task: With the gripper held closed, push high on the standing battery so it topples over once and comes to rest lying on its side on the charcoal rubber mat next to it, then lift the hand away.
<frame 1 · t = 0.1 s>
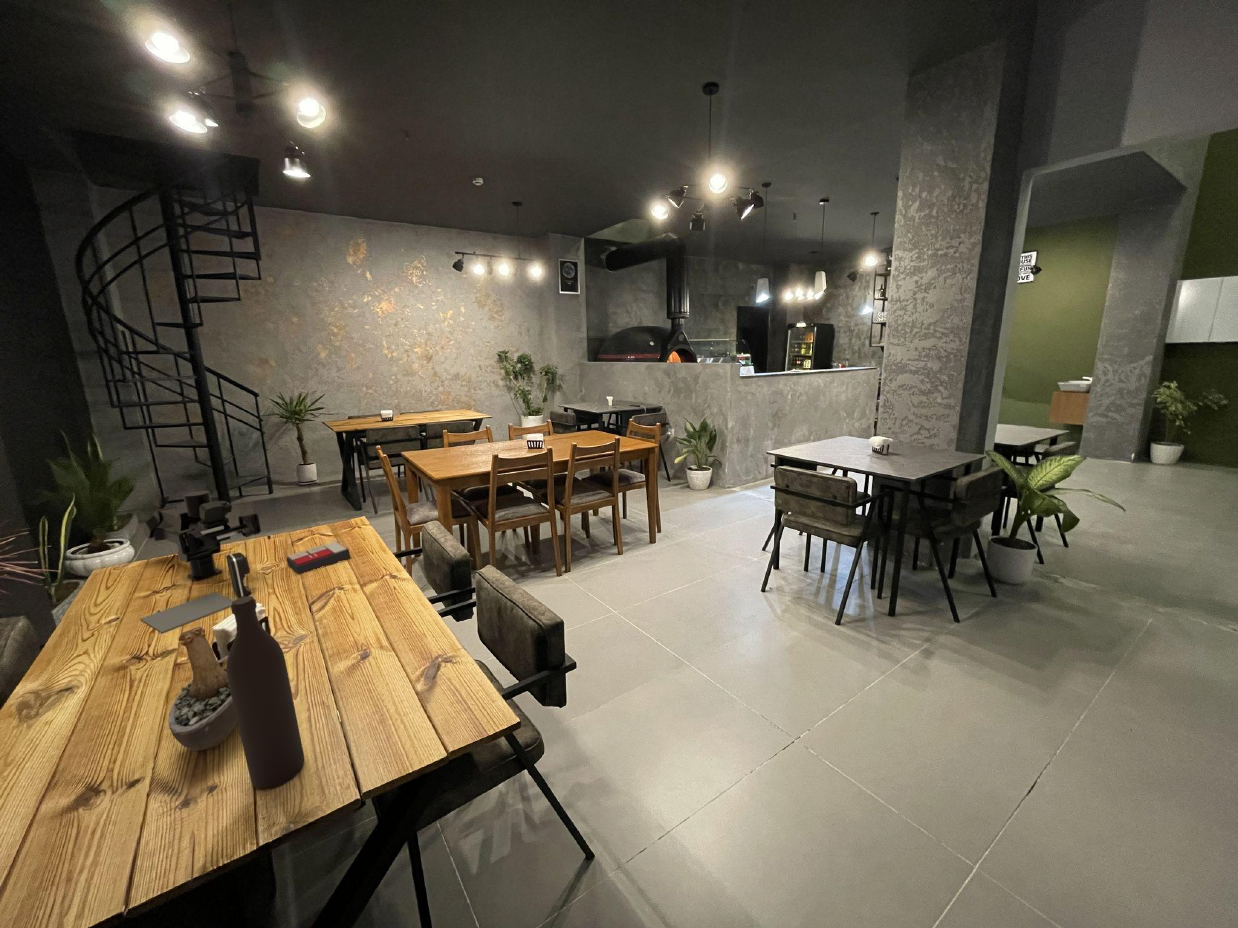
hand: (235, 537, 133), 17 cm above the table, tool horizontal, fingers open, 9 cm apart
wine bottle: (279, 773, 78), on the table
planter: (222, 730, 87), on the table
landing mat: (190, 611, 128), on the table
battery: (244, 593, 138), on the table
grey and red box: (319, 563, 158), on the table
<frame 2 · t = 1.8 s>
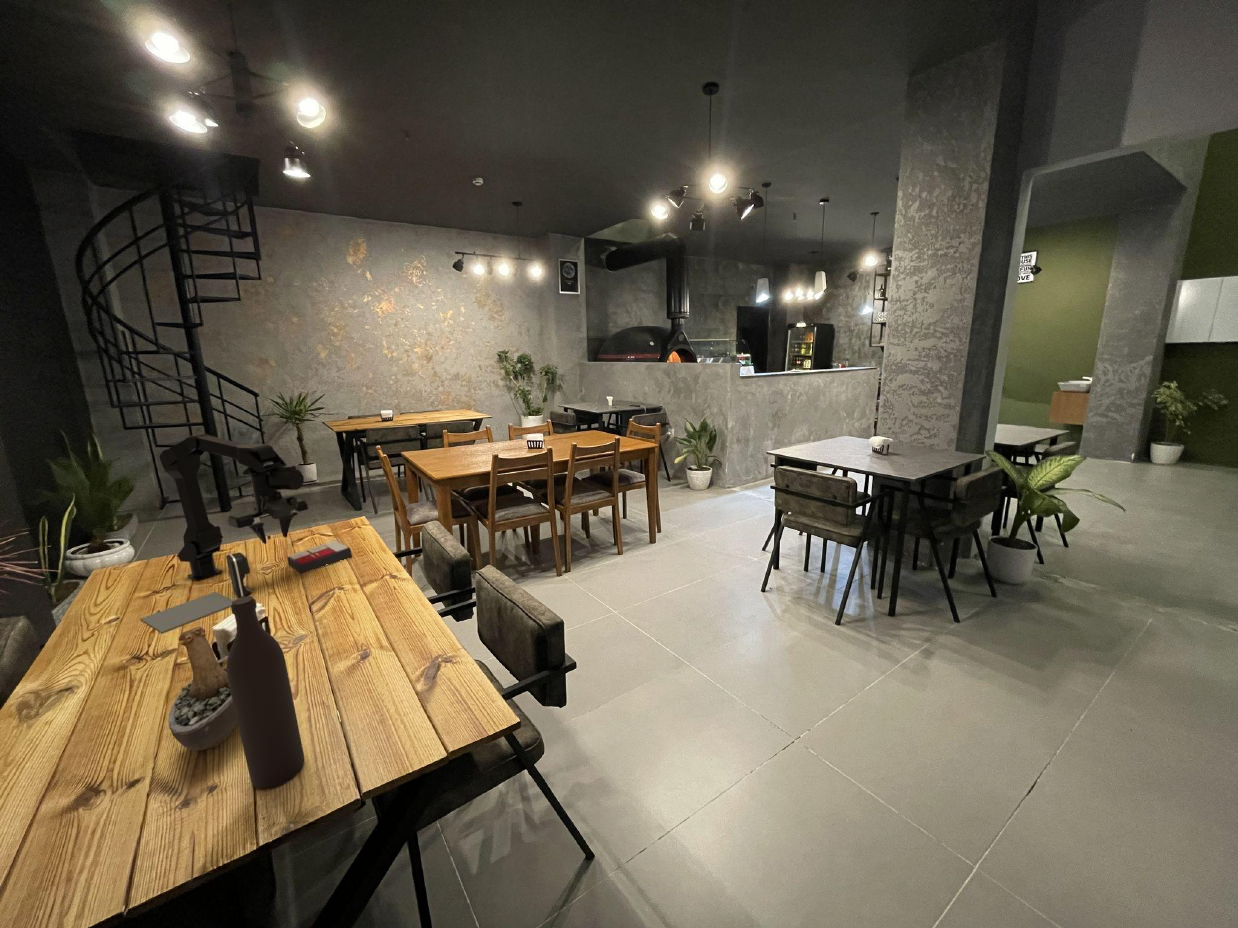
hand: (275, 540, 144), 12 cm above the table, tool pointing down, fingers open, 5 cm apart
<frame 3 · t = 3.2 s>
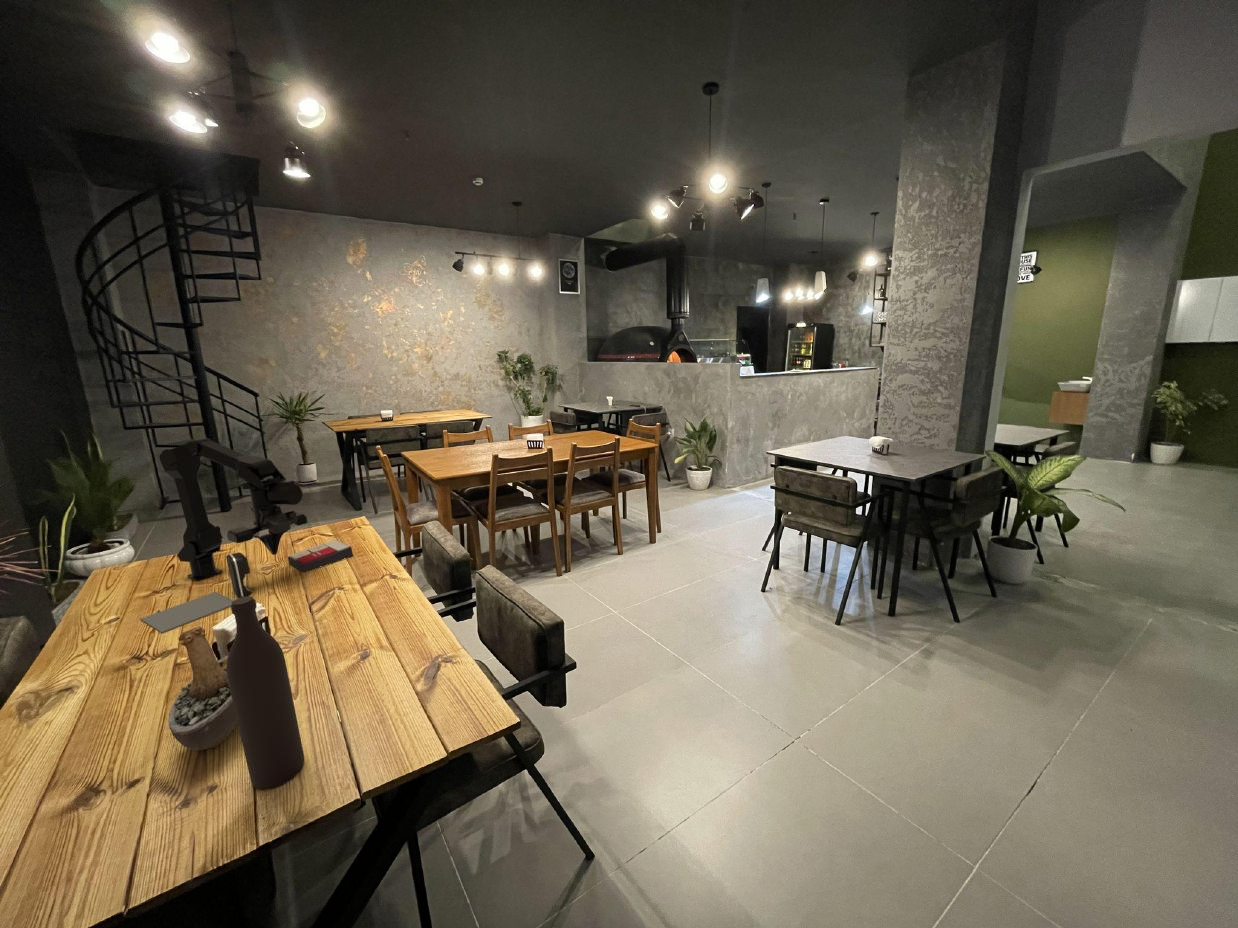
hand: (274, 554, 144), 8 cm above the table, tool pointing down, fingers closed
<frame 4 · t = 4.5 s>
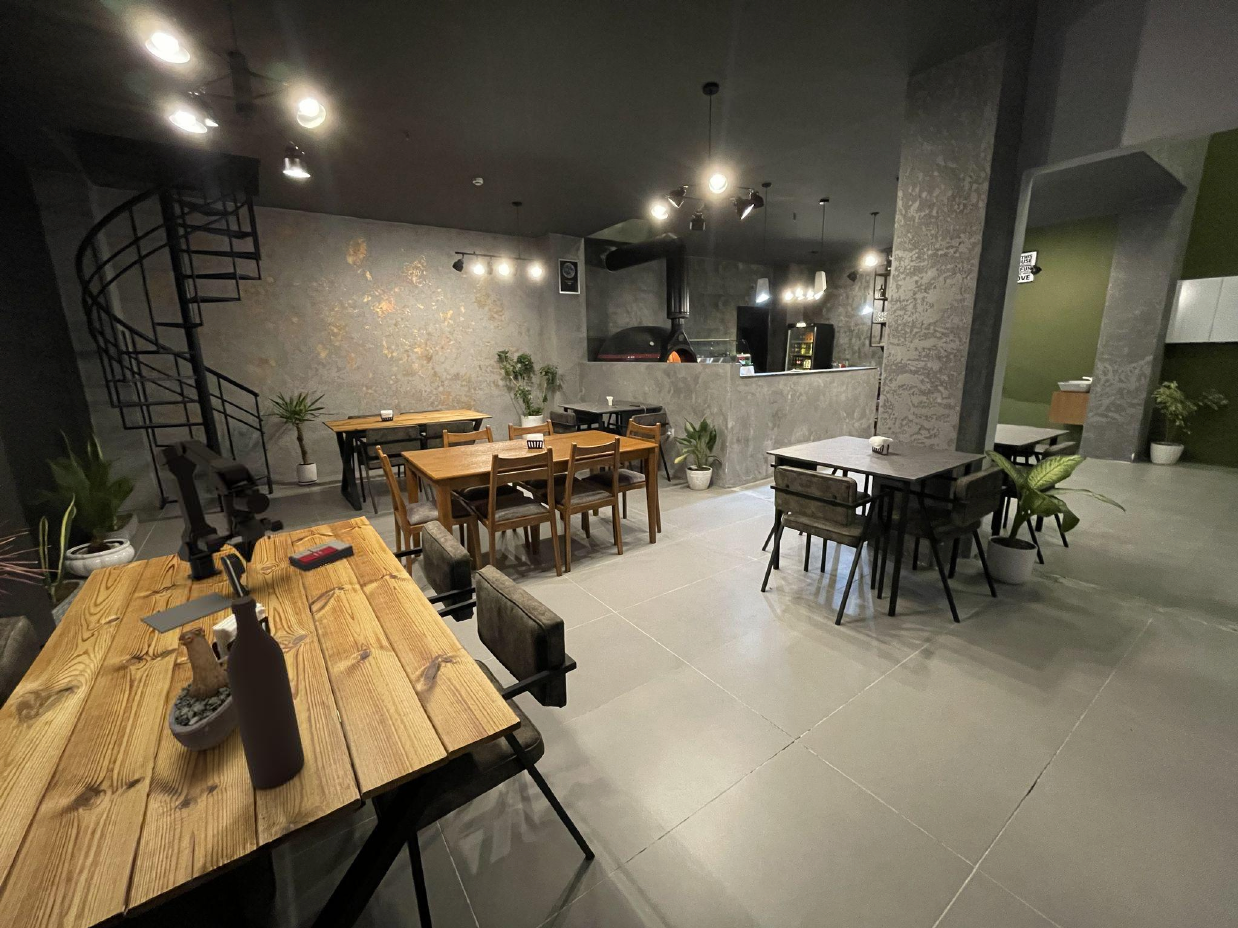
hand: (248, 562, 138), 8 cm above the table, tool pointing down, fingers closed
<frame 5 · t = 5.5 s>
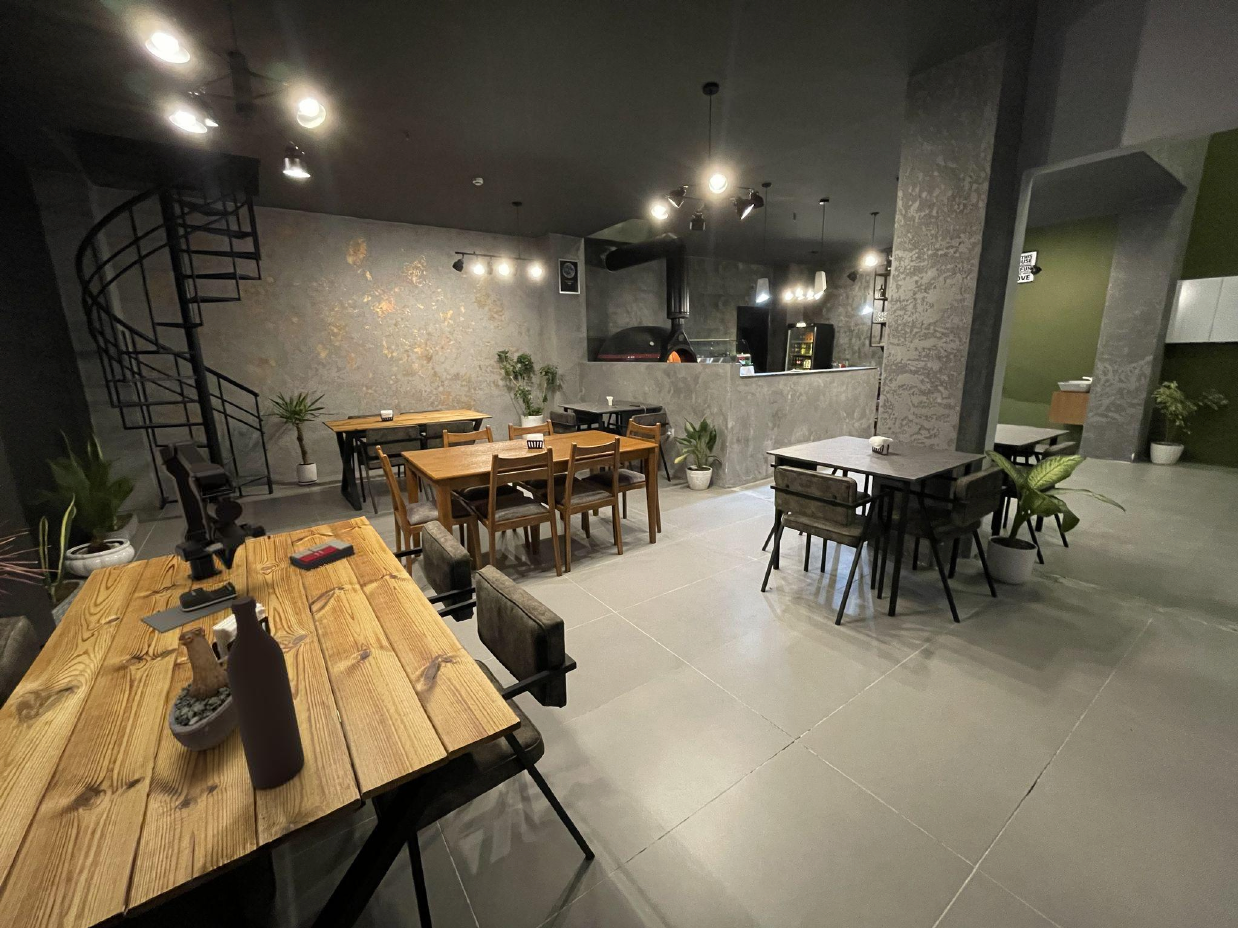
hand: (228, 569, 134), 8 cm above the table, tool pointing down, fingers closed
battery: (235, 587, 136), point 2 cm above the table, touching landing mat
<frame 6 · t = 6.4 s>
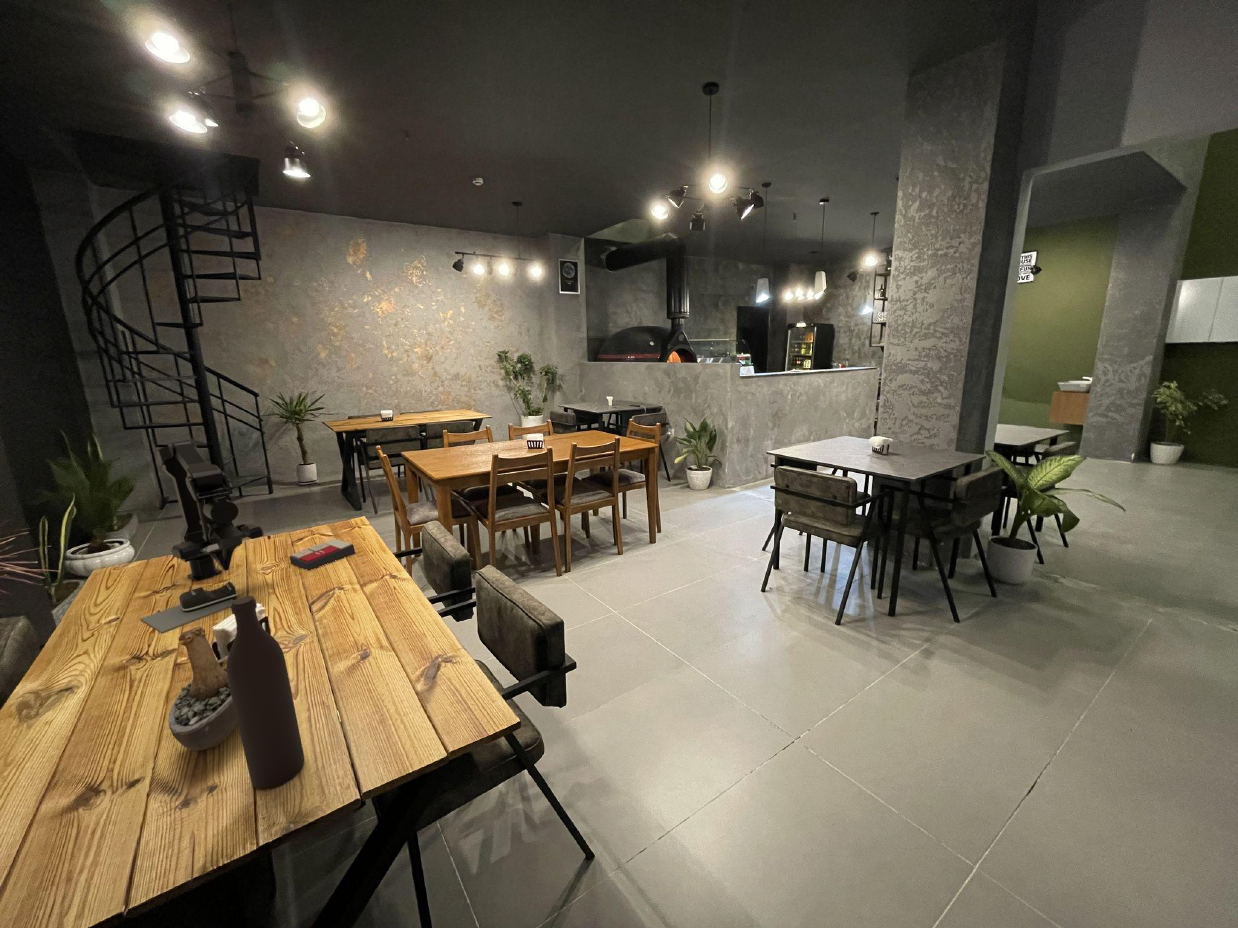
hand: (226, 570, 133), 8 cm above the table, tool pointing down, fingers closed
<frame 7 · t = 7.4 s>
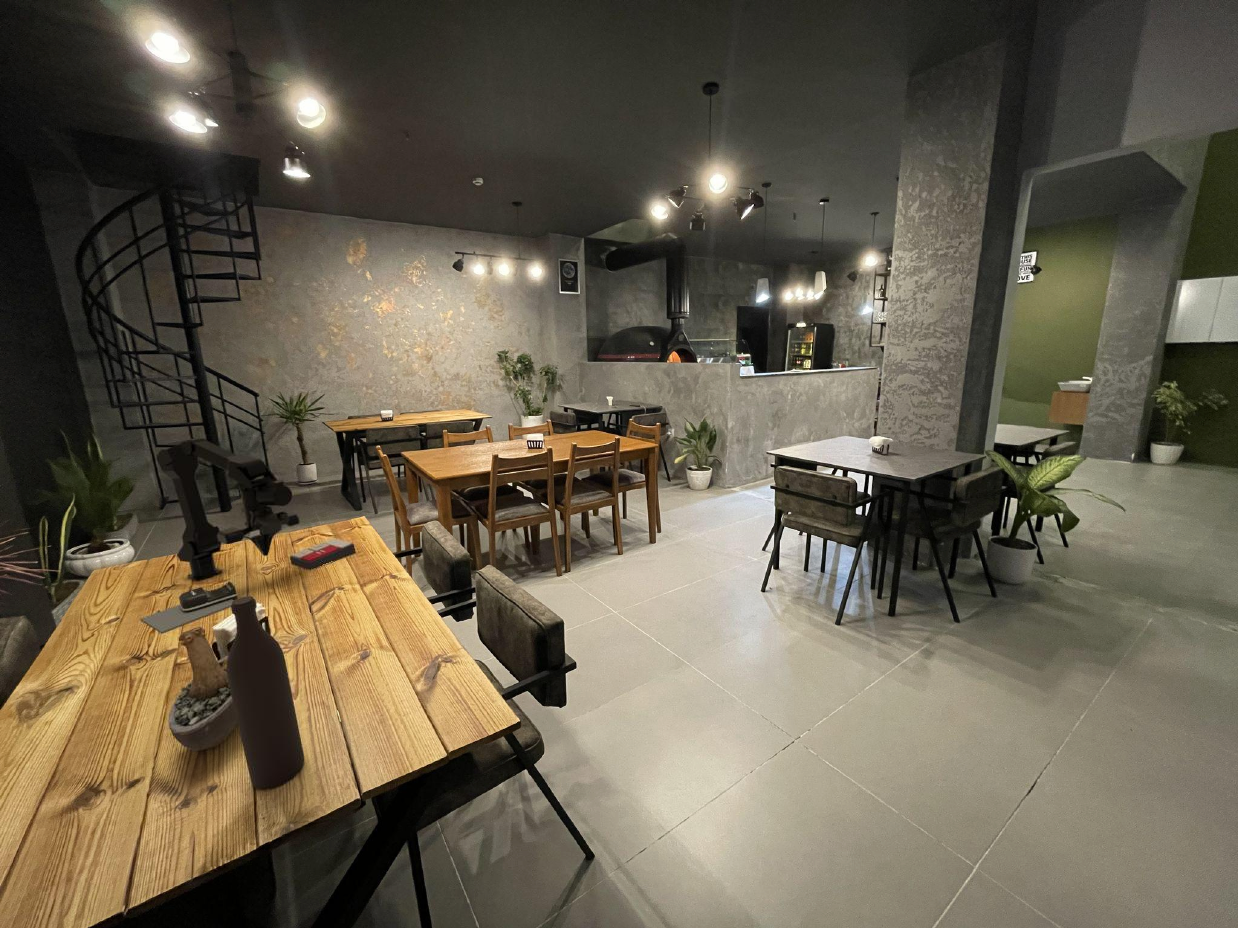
hand: (265, 555, 142), 8 cm above the table, tool pointing down, fingers closed
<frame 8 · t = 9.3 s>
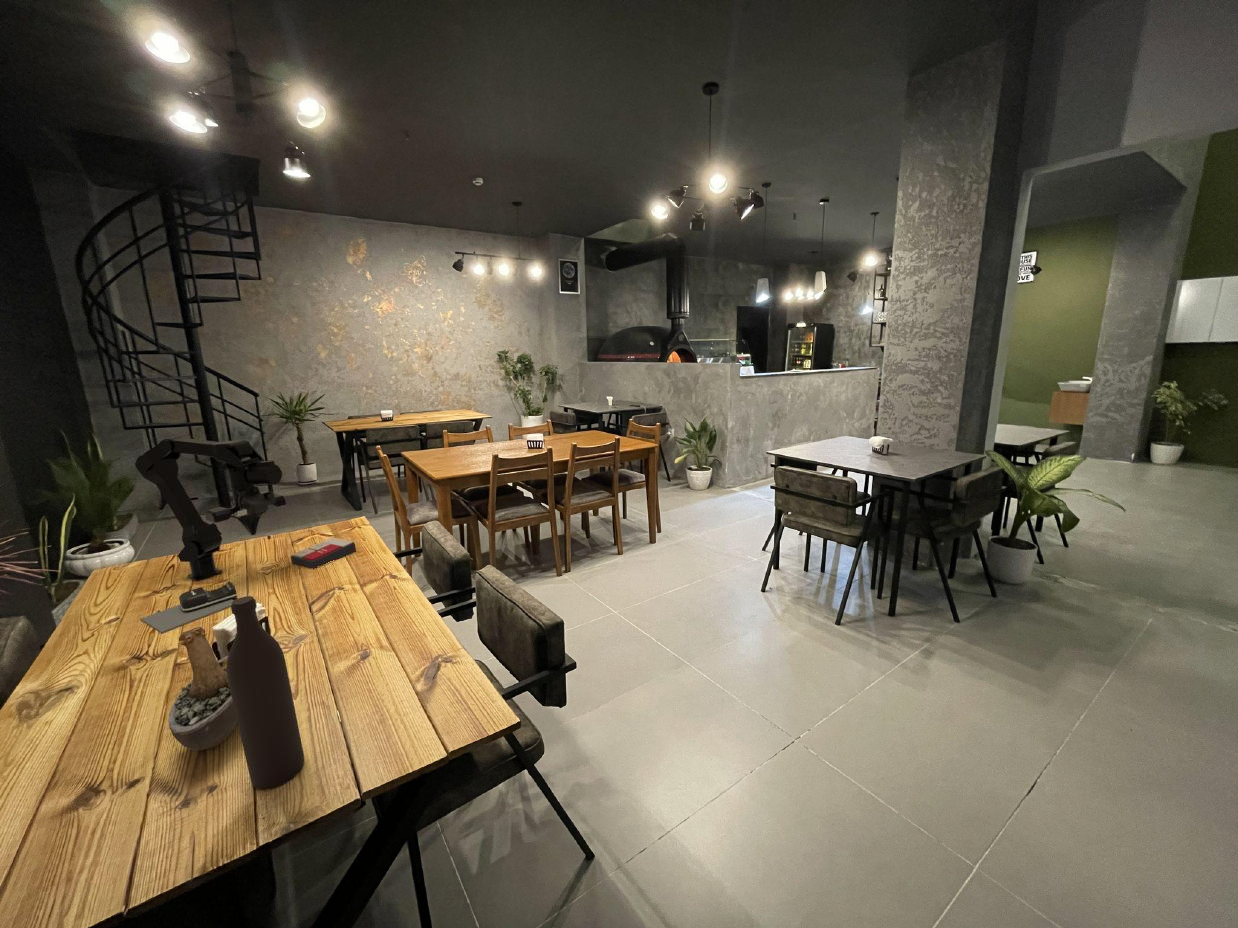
hand: (253, 534, 145), 13 cm above the table, tool pointing down, fingers closed
at the end: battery tilted 90°; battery touching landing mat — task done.
